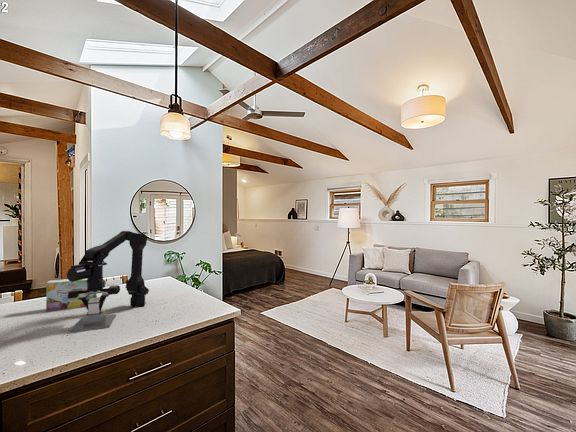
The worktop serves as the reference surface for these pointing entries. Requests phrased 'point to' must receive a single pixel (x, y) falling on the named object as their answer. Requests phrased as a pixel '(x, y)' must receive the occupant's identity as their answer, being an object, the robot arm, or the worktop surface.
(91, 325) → the stand base
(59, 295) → the snack box
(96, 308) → the gray rectangular plug
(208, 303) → the worktop surface
